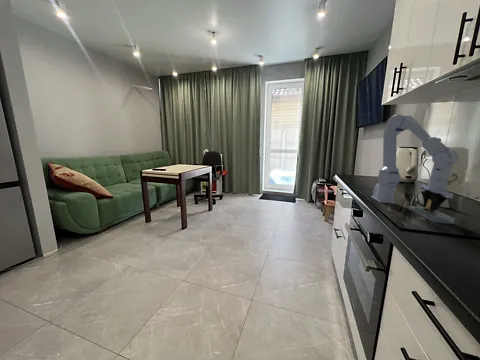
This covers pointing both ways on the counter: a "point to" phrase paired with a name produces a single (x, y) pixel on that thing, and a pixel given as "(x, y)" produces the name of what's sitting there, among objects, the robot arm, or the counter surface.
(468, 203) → the counter surface
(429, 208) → the yellow upright block
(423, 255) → the counter surface
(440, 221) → the pale blue flat bar
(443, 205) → the flask
